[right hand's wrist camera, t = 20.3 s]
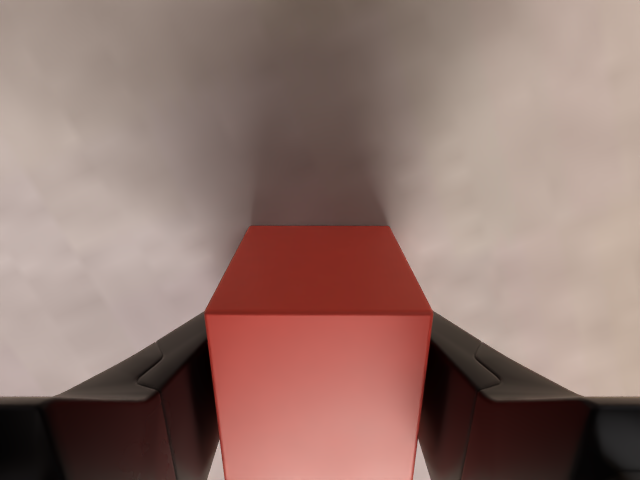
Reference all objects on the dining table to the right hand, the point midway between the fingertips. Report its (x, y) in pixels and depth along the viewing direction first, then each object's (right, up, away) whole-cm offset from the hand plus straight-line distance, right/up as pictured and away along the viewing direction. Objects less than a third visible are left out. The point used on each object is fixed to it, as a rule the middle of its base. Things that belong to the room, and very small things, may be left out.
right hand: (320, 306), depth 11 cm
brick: (0, 0, +1) cm, 1 cm away
